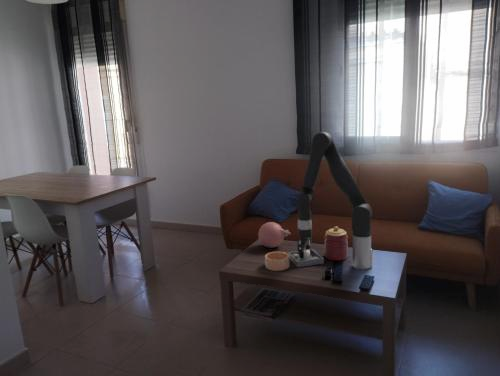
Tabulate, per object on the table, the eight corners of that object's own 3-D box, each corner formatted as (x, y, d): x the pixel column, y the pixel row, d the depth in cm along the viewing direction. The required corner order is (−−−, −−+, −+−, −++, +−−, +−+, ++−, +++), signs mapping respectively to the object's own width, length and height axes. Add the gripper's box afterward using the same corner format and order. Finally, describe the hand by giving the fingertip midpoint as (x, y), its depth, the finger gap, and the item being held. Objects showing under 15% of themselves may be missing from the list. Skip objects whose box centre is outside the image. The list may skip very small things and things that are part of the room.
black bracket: (322, 272, 212) (322, 263, 211) (336, 273, 210) (336, 264, 209) (319, 282, 200) (319, 273, 199) (335, 283, 198) (335, 274, 197)
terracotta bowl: (284, 260, 228) (284, 250, 227) (292, 268, 216) (292, 258, 215) (262, 263, 225) (262, 253, 224) (269, 272, 213) (269, 261, 212)
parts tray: (312, 253, 235) (312, 248, 235) (323, 263, 221) (323, 258, 221) (288, 257, 232) (287, 252, 231) (297, 267, 218) (297, 262, 217)
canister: (347, 261, 222) (347, 230, 218) (323, 260, 225) (323, 229, 222) (348, 253, 234) (348, 223, 231) (325, 251, 238) (325, 222, 234)
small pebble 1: (297, 256, 231) (297, 253, 231) (299, 258, 228) (299, 255, 228) (291, 257, 231) (291, 253, 230) (293, 259, 227) (293, 255, 227)
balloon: (286, 253, 238) (285, 228, 235) (254, 249, 246) (253, 225, 243) (294, 244, 252) (294, 220, 248) (264, 241, 260) (263, 218, 257)
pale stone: (307, 257, 229) (307, 248, 228) (311, 260, 225) (311, 251, 224) (299, 258, 228) (299, 249, 227) (302, 261, 223) (302, 252, 222)
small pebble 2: (317, 259, 225) (317, 256, 225) (319, 261, 222) (319, 258, 222) (311, 260, 225) (311, 257, 224) (313, 262, 222) (313, 259, 221)
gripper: (303, 222, 231) (303, 250, 234) (292, 229, 219) (293, 258, 222) (316, 224, 227) (316, 252, 230) (306, 231, 215) (306, 260, 218)
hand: (304, 255), depth 226 cm, fingers open, 8 cm apart
